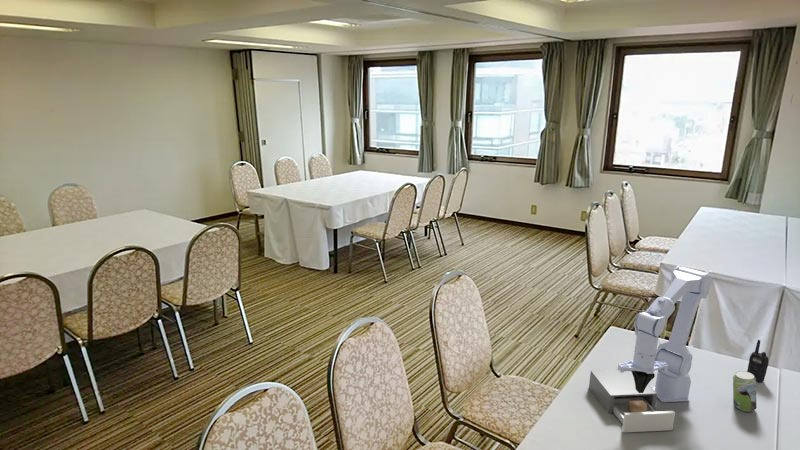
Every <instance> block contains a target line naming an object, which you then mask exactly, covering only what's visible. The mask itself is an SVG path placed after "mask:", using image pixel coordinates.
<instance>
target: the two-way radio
mask: <svg viewBox="0 0 800 450" xmlns="http://www.w3.org/2000/svg"><path fill="white" fill-rule="evenodd" d="M760 345H761V339H757V342H756V346H755V350H754V351H753V352H751V354H750V356H749V359H748V365H747V370H746V372H749V373H752V374H753V375H754V377H755V378H756V381H757V383H759V384H760V383H764V382H765V377H766V374H767V370H768V366H769V357H768V356H767V352H766V351H762V352H761V353H760V347H761V346H760Z"/></svg>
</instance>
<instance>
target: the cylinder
mask: <svg viewBox="0 0 800 450" xmlns="http://www.w3.org/2000/svg"><path fill="white" fill-rule="evenodd" d="M646 408H647V404H646V403H645V402H644V401H642V400H639V399H630V400H629V404H628V411H627V413H633V412H646Z"/></svg>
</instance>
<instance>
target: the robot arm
mask: <svg viewBox="0 0 800 450" xmlns="http://www.w3.org/2000/svg"><path fill="white" fill-rule="evenodd" d="M670 279H671V280H670V281H671V282H670V283H671V284H670V285H669V287H668V289H667V290H666V291H665V293H664V295H663V296H658V297H656V299H654V301H653V302H652V303H651V304H650V306H648V308H647V309H646V310H645V311H642V312H639V313H638V314H637V315H636V317H635V320H634V322H633V326H634V329H635V331H634V335H635V345H634V353H633V359H632V360H630V361H629V360H628V361H626V362H622V363H618V365H617V370H619V371H620V372H621V373H624V371H631V372H632V374H633V377H634V381H635V387H636V390H637V391H638V392H639V393H643V392H644V390H645V388H646V386H647V385H649V383H650V382H651V381H652V380H653V379H655V376H656V381H655V386H650V387H651V388H652V389H653V390H654V391H655V392H656V393H657V397H656V398H658V400H659V401H660V402H662V403H671V402H672V403H675V402H676V403H677V402H689V401H690V399H689V395H690V389H691V384H692V383H691V381H692V380H691V377H690V374H689V373H690V371H691V368H692V361H693V354H692V353H691V351H690V350H689V349H688V348H687V342H688V339H689V335H690V332H691V329H692V326H693V323H694V319H695V316H696V313H697V310H698V308H699V307H698V306H699V304H700V301H701V300H702V299H706V298H707V296H708V295H709V292H710V289H711V287H712V283H713V280H712V275H711V274H710V273H709V272H704V271H700V270H696V269H692V268H688V267H685V266H682V265H677V266H676V267H674V269H673V271H672V273H671V277H670ZM680 299H681V301H680V302H679V303H680V304H679V307H678V310H677V313H676V317H675V318H674V319H675V320H674V322H673V326H672V329H671V332H670V336H669V340H668V341H663V342H661V343H659V337H660V336H661V335H662V333H663V331H664V329H665V326H666V324H667V320H668V319H669V318H670V316H671V315H672V314H673V313H674V312H675V309H676V306H675V304H676V303H677V302H678V301H679V300H680ZM658 343H659V344H658ZM655 371H657V374H655V373H654V372H655Z"/></svg>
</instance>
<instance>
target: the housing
mask: <svg viewBox="0 0 800 450" xmlns="http://www.w3.org/2000/svg"><path fill="white" fill-rule="evenodd" d="M589 373H590V374H589V375H590V376H589V384H588V388H589V389H590V391H591V392H592V393H593V395H594V396H595V397H596V399H597V400H598V401H599V403H600V404H601V406H602V407H603V408H604V409H605V410H606V412H607V413H608V414H612V413H613V411H612V410H613V403H614V398H624V397H643V398H644V399H645V400H646V401H647V402H648V403H649V404H650V405H651V406H652V408H653V409H654V410H655V409H656V404H657V403H656V402H657V398H658V397H657V393H656V392H655V391H654V390H653V389H652V388H651V387H652V386H651V385H649V384H648V385H647V386H646V388H645V390H644V392H643V393H639V392H638V391H637V390H636V387H635V381H634V377H633V374H632V372H631V371H624V373H621V372H620V371H619V370H618V369H602V370H601V369H599V370H598V369H596V370H594V369H593V370H590V372H589ZM655 411H656V410H655Z"/></svg>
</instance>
